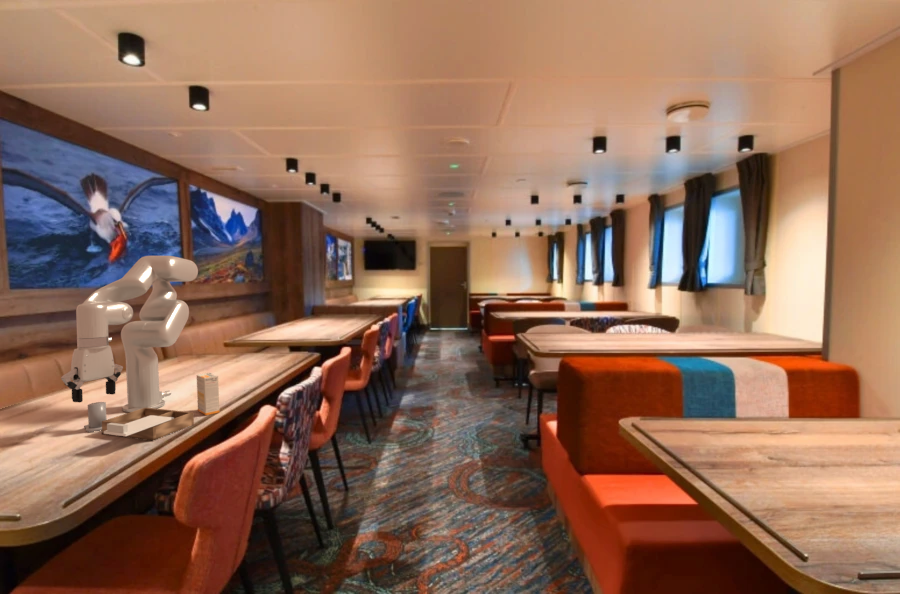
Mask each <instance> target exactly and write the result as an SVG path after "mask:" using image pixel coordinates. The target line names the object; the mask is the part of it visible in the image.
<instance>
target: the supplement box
mask: <svg viewBox="0 0 900 594" xmlns="http://www.w3.org/2000/svg"><path fill="white" fill-rule="evenodd" d="M219 386H220V385H219V375H216V374H215V373H212V372H207V373H206V372H205V373H200V374H196V391H197V392H196V393H197V396H196V397H197V412H200V413H201V414H203V415H204V416H210V415H215V414H217V413H218V414H219V413H220V390H219V389H220V388H219Z"/></svg>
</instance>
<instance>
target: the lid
mask: <svg viewBox="0 0 900 594" xmlns="http://www.w3.org/2000/svg"><path fill="white" fill-rule="evenodd" d="M169 420H171V417H163V416H154V415H150V416H147V417H144V418H141V419H138V420H135V421H132V422H129V423H126V424H118V423H109V424H107V430H106V431H104V434H111V435H110V436H112V435H119V436H128V435H131V434H134V433H136V432H139V431H142V430H145V429H147V428H150V427H153V426H155V425H158V424H161V423H164V422H166V421H169ZM104 434H103V435H104ZM119 436H118V437H119Z"/></svg>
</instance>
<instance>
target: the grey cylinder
mask: <svg viewBox="0 0 900 594" xmlns="http://www.w3.org/2000/svg"><path fill="white" fill-rule="evenodd" d="M87 420H88V424H85V425H83V429H84V428H86V429H85V430H86V431H88V432H87V433H95V432H94V431H99V432H101V431H100V430H102V421H104V420H108V418H107V402H106V401H98V402H92V403H89V404H87Z"/></svg>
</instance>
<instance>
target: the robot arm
mask: <svg viewBox="0 0 900 594" xmlns="http://www.w3.org/2000/svg"><path fill="white" fill-rule="evenodd" d="M198 269H199V268H198V266H197V264H196V263H195V262H194V261H192V260H190V259H186V258H183V257H178V256H173V255H145V256H141V258H139V259H138V260H137V261H136V262H135V263H134V265H132V266H131V268H130V269H129V270H128V271H127V272H126V273H125V274H124V275H123V277H122V278H120V279H117V280H115V281H113V282H111V283H108V284H106V285H105V286H102V287H100V288H98V289H96V290H95V291H93V292H92V293H91V294H90V295H89V296H88V297H87V298H86V299H85V300H84V301H83V303H80V304H78V305H77V306H76V311H75V314H76V315H75V316H76V318H75V319H76V344H77V346H76V347H77V348H74V349H73V352H72V356H71V363H70V371H68V372H66V373H65V374H63V375H62V376H61V377H60V379H61V381H62V382H63V384H64V385H65V386H66V387H67V388H68V389H69V390H71V399H72V402H73V403H82V402H83V400H84V399H83V388H81V387H82V386H83V384H84V383H86V382H90V381H96V380H102V379H105V380H106V381H105V394H107V395H116V387H117V386H116V382H117V381H118V378H120V376H122V375H121V373H122V371H123V369H124V366H123V365H120V364H117V363H115V361H114V354H113V350H112V346H111V345H110V342H112V340H113V339H112V337H109V326H110V325H111V326H112V325H113V326H115V325H116V326H117V325H123V324H125V325H124V326H123V327H122V329H121V332H120V339H121V343H122V344H123V345H122V346H123V348H124V349H123V350H124V356H125V370H126V395H127V403H126V404H125V405H123V406H122V411H123V412H125V413H130V412H133V411H136V410H139V409H142V408H155V409H160V408H161V407H163V406H164V405H166V403H165V402H166V401H165V400H164V397H165V398H166V397H169V396H171V395H172V392H171V390H166V391H163V392H162V391H160V376H159V373H160V372H159V358H158V355H157V353H156V351H155V350H154V348H167V347H171V346H173V345H174V344H175V343H176V342H177V340H179V339H178V338H179V337H180V335H181V334H182V332H183V329H184V328H185V326H186V324H187V321H188V320H189V316H190V309H189V306H188V304H187V303H186V302H185V301H184V300H181V299H177V297H178V294H177V291H176V290H175V288H174V287H173V286H172V284H171V282H177V283H178V282H182V283H183V282H192V281H195V279H197V277H198V275H199V274H198V273H199V270H198ZM151 287H152V291H151V293H150V295H149V296H148V297H147V299H146V301H145V302H144V303H143V305H142V307H141V309H140V311H139V320H135V321H131V320H132V319H133V316H134V310H133V307H132V306H131V305H130V304H129V303H127V302H124V301H127V300H133V299H136V298H138V297H141V296H143V295H145V294H146V293H147V292H148V291H149V290H150V288H151Z"/></svg>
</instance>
